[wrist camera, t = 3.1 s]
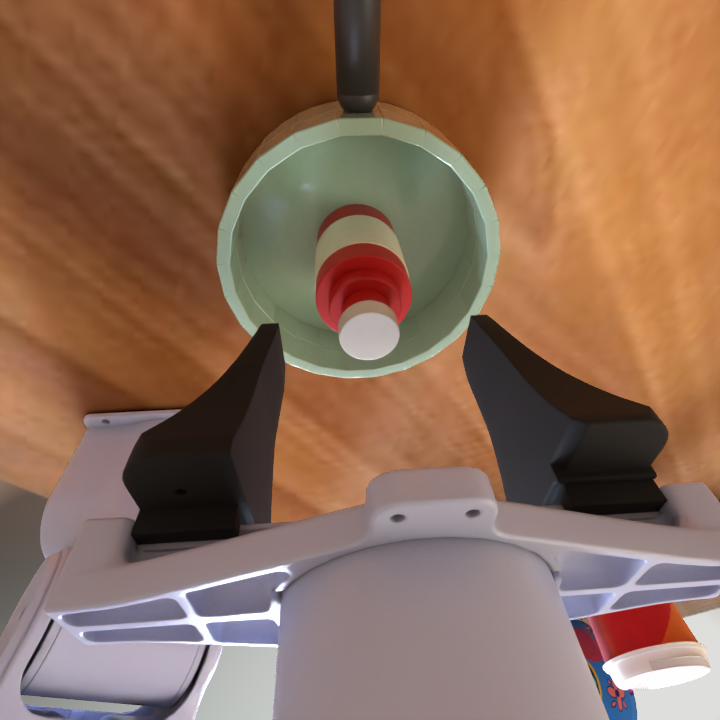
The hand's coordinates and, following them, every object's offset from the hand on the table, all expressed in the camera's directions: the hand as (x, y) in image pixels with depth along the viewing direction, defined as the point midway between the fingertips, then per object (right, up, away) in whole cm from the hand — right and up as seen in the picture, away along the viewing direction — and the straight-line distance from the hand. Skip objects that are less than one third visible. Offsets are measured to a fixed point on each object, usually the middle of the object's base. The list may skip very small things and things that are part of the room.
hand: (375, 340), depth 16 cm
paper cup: (+22, -16, +27) cm, 38 cm away
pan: (-1, +6, +6) cm, 9 cm away
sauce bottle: (-1, +5, +6) cm, 8 cm away
